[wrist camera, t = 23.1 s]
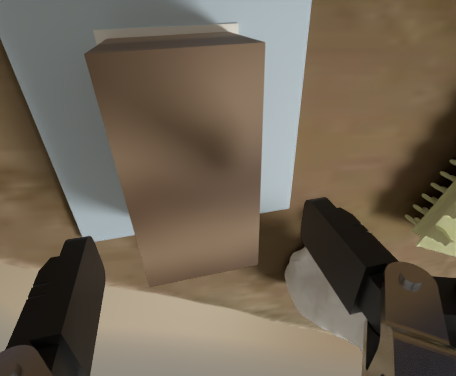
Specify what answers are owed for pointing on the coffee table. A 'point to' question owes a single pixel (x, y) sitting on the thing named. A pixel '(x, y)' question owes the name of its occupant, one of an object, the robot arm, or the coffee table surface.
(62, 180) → the board
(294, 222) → the coffee table surface
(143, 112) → the walnut pedestal
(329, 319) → the white rounded figure
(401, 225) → the coffee table surface
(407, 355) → the robot arm
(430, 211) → the spiky scrub brush
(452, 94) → the coffee table surface
